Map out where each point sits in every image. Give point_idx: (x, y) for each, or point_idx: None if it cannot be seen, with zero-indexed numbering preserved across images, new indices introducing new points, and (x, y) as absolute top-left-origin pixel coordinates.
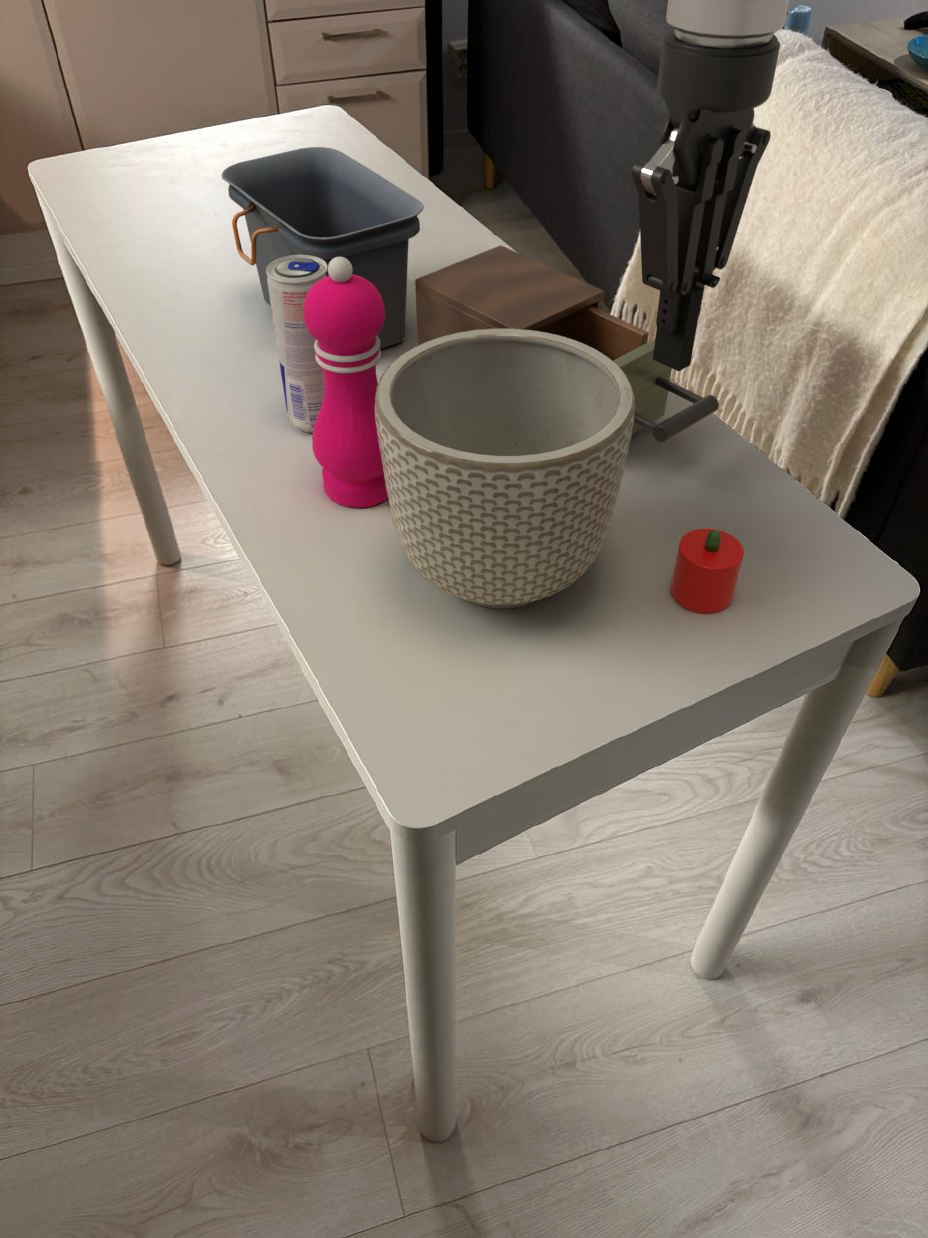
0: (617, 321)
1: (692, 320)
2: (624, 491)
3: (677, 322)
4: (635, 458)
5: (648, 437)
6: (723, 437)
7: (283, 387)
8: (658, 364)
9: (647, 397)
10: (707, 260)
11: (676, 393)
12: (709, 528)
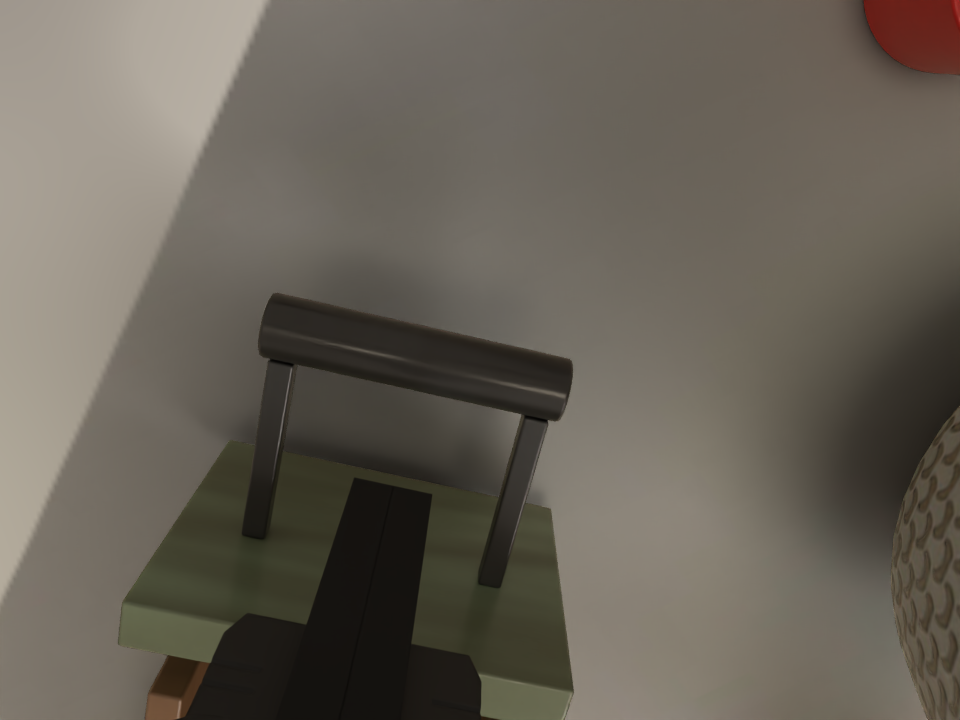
0: None
1: (359, 632)
2: (607, 371)
3: (421, 679)
4: (445, 414)
5: (327, 429)
6: (182, 249)
7: None
8: (246, 572)
9: (309, 515)
10: None
11: (281, 449)
12: (955, 16)
